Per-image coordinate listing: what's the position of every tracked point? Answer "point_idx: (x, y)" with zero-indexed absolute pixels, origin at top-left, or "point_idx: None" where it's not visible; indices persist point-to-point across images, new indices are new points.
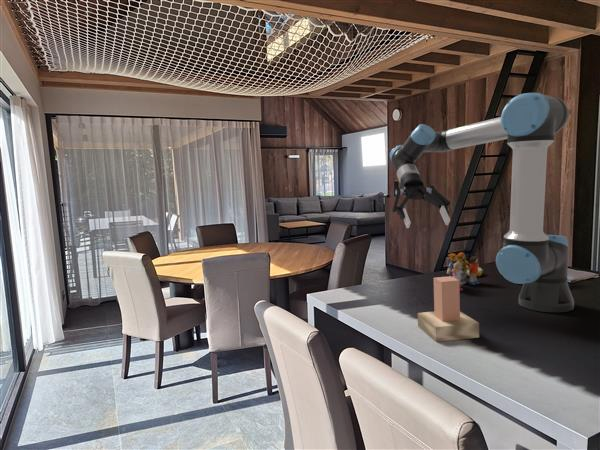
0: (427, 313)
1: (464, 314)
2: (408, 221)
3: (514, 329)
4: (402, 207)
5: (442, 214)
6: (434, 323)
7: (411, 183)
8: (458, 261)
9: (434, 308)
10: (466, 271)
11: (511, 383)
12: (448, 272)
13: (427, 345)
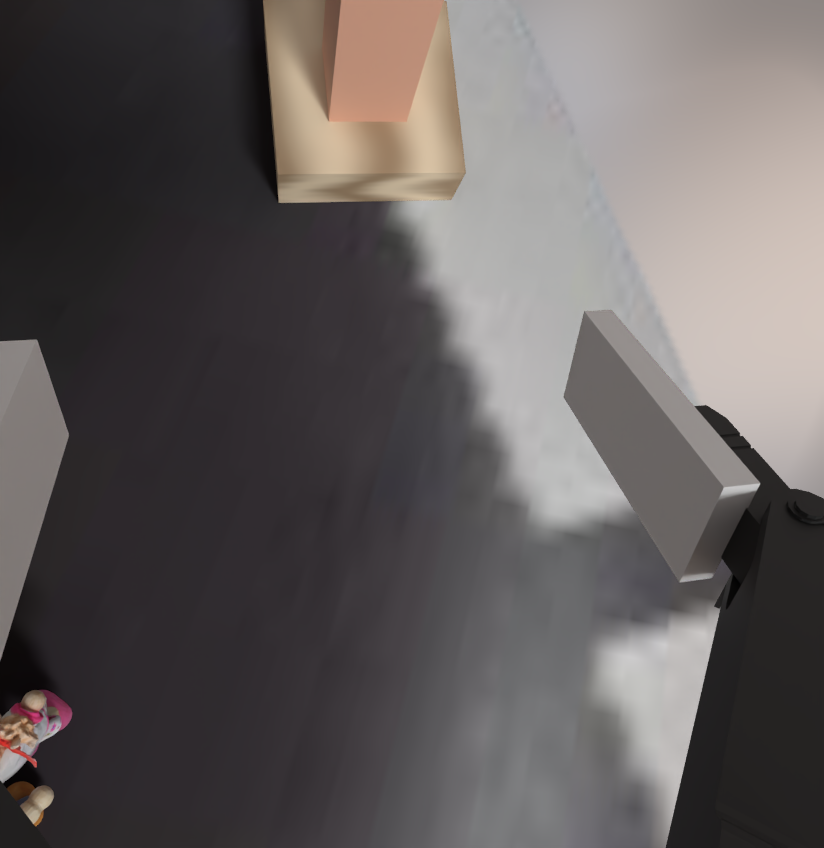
0: (426, 155)
1: (275, 99)
2: (618, 322)
3: (82, 72)
4: (775, 508)
5: (14, 536)
6: (437, 38)
7: None
8: None
9: (412, 100)
10: None
11: None
12: (41, 788)
13: (472, 23)
